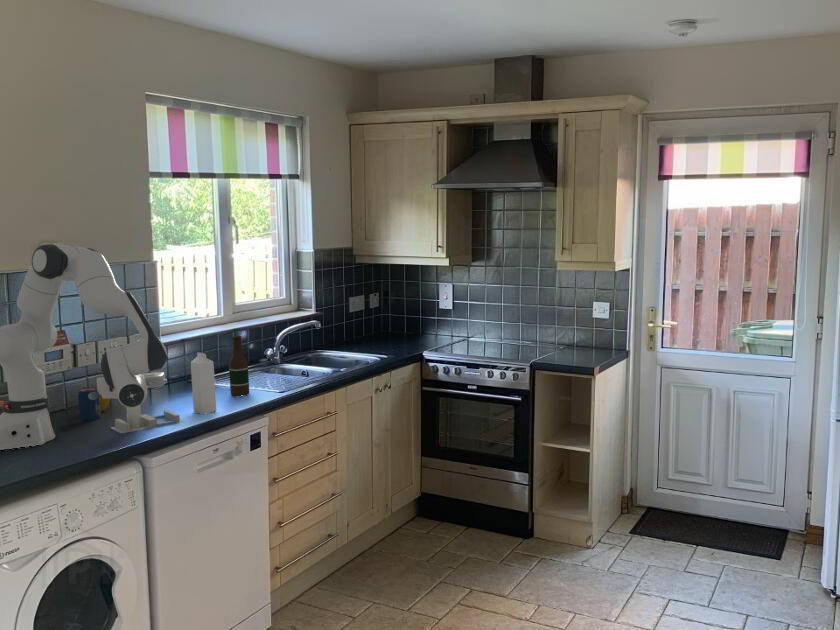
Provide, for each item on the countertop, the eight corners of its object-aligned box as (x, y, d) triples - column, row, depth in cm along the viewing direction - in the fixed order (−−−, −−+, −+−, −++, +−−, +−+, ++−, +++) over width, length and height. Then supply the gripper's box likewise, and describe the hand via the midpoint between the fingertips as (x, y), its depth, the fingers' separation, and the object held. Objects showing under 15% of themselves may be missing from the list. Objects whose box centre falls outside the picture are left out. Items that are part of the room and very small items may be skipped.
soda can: (102, 422, 282) (100, 389, 281) (81, 425, 279) (79, 392, 277) (99, 418, 288) (96, 386, 287) (78, 421, 285) (75, 388, 283)
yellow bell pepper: (116, 409, 302) (114, 386, 301) (98, 414, 294) (96, 391, 293) (100, 407, 306) (99, 384, 305) (82, 412, 298) (80, 389, 297)
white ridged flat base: (122, 438, 261) (121, 426, 261) (109, 431, 270) (108, 420, 269) (185, 425, 275) (185, 414, 275) (172, 419, 284) (171, 408, 283)
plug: (130, 429, 266) (127, 382, 264) (125, 426, 270) (122, 380, 268) (143, 426, 269) (140, 380, 267) (138, 424, 273) (135, 378, 271)
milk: (207, 409, 298) (204, 351, 296) (216, 411, 294) (213, 352, 292) (193, 412, 294) (189, 353, 291) (202, 414, 290) (198, 355, 287)
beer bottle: (236, 397, 316) (232, 338, 313) (226, 394, 322) (223, 336, 319) (253, 394, 321) (250, 335, 318) (243, 391, 327) (240, 333, 324)
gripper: (166, 371, 246) (164, 364, 259) (95, 378, 239) (96, 371, 252) (167, 391, 247) (165, 383, 260) (96, 399, 240) (98, 390, 253)
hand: (131, 377), depth 256 cm, fingers open, 8 cm apart
